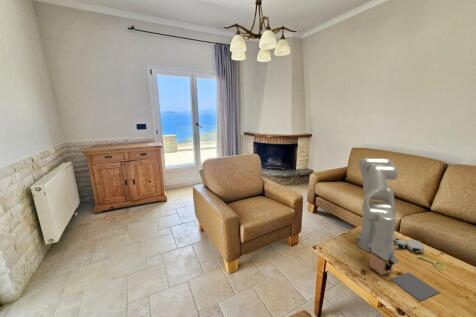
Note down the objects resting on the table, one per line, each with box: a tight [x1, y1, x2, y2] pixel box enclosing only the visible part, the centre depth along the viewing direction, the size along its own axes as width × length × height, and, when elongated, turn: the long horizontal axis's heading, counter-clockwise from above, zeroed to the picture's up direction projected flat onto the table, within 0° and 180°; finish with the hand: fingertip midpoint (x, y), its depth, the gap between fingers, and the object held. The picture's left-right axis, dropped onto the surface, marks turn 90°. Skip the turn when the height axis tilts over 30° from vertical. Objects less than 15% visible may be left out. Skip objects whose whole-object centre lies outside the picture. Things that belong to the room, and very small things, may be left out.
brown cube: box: [369, 252, 393, 276], centre depth 114 cm, size 7×7×8 cm
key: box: [416, 254, 447, 271], centre depth 119 cm, size 7×12×2 cm, turn 52°
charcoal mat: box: [389, 271, 441, 303], centre depth 104 cm, size 14×14×1 cm
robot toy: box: [393, 237, 426, 254], centre depth 133 cm, size 12×4×15 cm
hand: (380, 264), depth 114 cm, fingers closed on brown cube, 7 cm apart
